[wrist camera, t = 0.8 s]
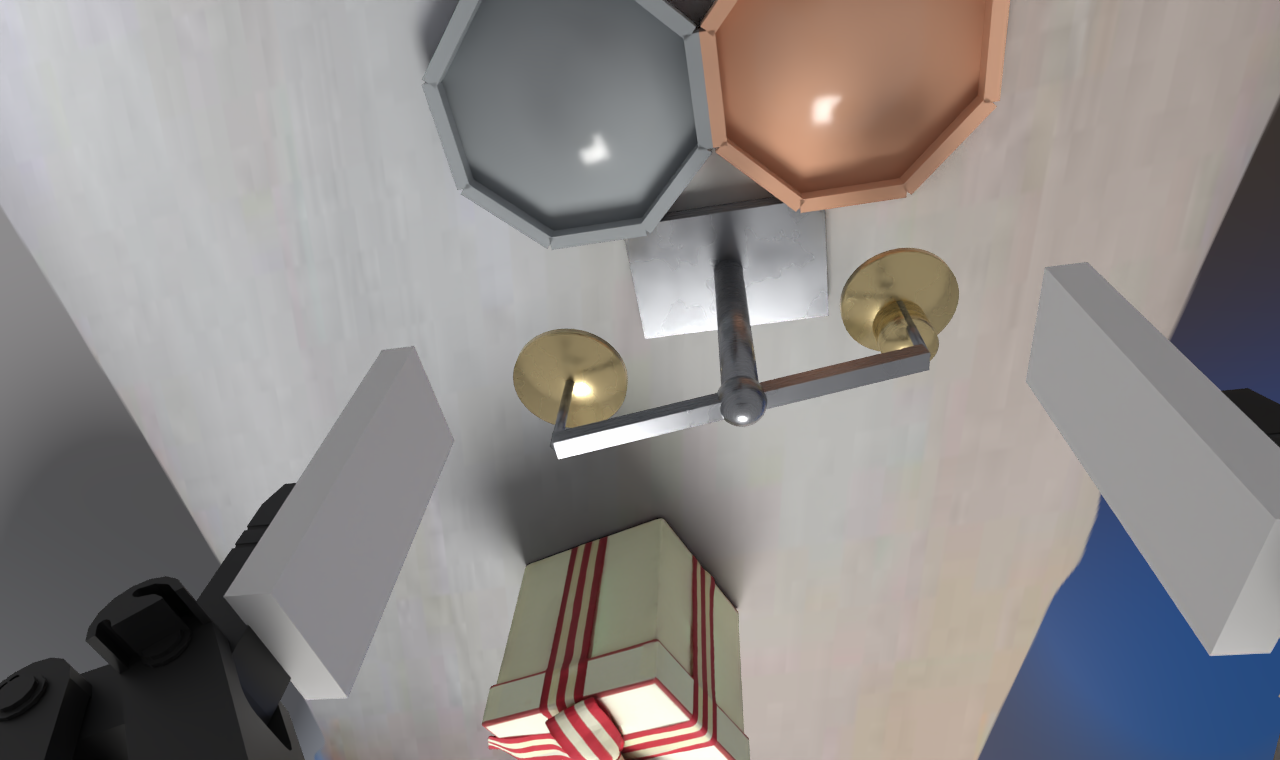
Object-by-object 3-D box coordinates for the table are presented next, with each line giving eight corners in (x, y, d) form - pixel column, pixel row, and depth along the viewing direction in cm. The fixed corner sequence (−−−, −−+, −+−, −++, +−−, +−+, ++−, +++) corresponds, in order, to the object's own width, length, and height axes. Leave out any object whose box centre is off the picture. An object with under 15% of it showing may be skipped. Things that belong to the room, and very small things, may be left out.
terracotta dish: (686, -75, 35) (685, -73, 33) (1009, -144, 32) (1025, -145, 31) (721, 212, 43) (722, 224, 42) (980, 173, 41) (991, 184, 39)
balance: (533, 233, 45) (465, 389, 31) (922, 174, 41) (1040, 321, 27) (564, 339, 49) (516, 517, 35) (917, 294, 46) (1015, 472, 32)
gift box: (488, 579, 65) (433, 772, 51) (653, 501, 58) (642, 701, 44) (601, 671, 72) (580, 862, 58) (758, 613, 65) (778, 814, 51)
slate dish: (401, -14, 37) (389, -10, 35) (686, -75, 35) (685, -73, 33) (487, 247, 45) (481, 260, 44) (721, 212, 43) (722, 224, 42)
